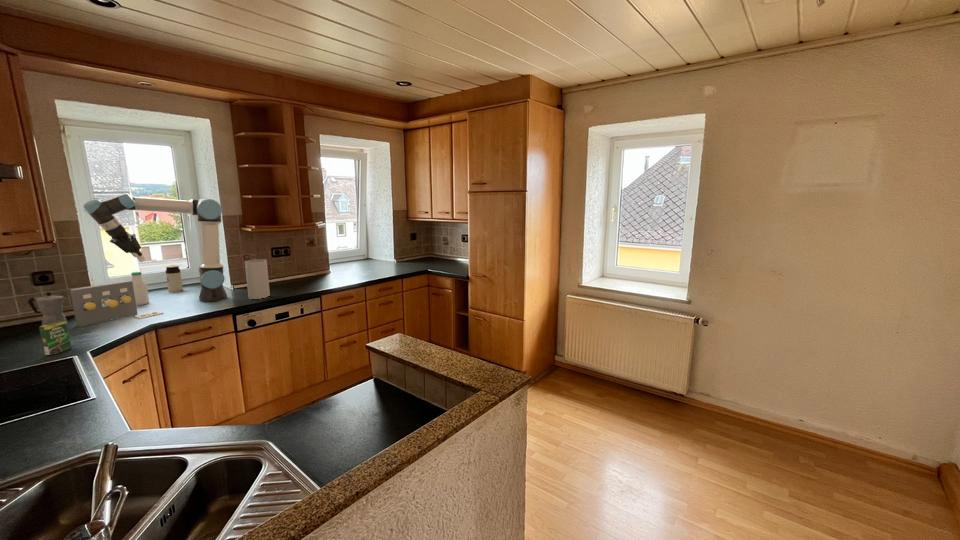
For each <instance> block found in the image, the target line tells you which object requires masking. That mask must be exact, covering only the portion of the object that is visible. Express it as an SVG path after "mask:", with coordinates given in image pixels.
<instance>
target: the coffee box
mask: <svg viewBox="0 0 960 540" xmlns="http://www.w3.org/2000/svg"><path fill="white" fill-rule="evenodd" d="M38 330H39V334H40V338H41V343H42V348H43V352H44V356H46V355H52V356H54V355H53V354H55V355H57V354H56V353H58V354H60V353H59V352H61V353H63V351H64V352H66V351H65V350H67V351H69V350H68V349H70V350H72V349H73V347H72V343H71V338H70V333H69V329H68V325H67V324H66V321H58V322H55V323H51V324H47V325H43V326H42V325H39V327H38ZM71 348H72V349H71Z"/></svg>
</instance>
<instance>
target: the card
mask: <svg viewBox="0 0 960 540" xmlns="http://www.w3.org/2000/svg"><path fill="white" fill-rule="evenodd" d="M162 313H163V314H164V312H161V311H152V312H149V313H143V314H139V315H138V314H137V315H133V318H134V317H135V319H138V318H139V320H142V319H146V318H145V317H147V318H149V316H151V317H154V316H153V315H155V316H159V315H158V314H160V315H163V314H162ZM141 318H142V319H141Z"/></svg>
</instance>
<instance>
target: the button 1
mask: <svg viewBox="0 0 960 540" xmlns="http://www.w3.org/2000/svg"><path fill="white" fill-rule="evenodd" d="M82 304H83V309H87V310H93V309H95V308H96V304H95V303H93V302H90V301H89V302H83V303H82Z"/></svg>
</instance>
